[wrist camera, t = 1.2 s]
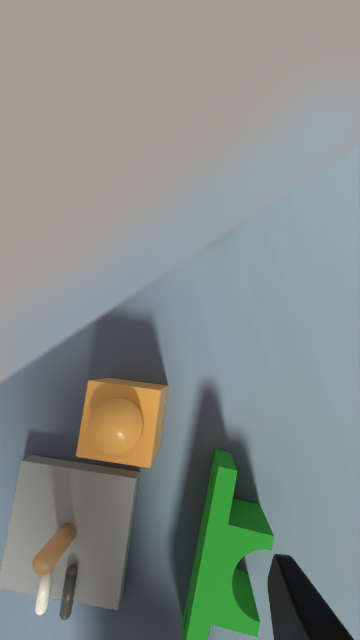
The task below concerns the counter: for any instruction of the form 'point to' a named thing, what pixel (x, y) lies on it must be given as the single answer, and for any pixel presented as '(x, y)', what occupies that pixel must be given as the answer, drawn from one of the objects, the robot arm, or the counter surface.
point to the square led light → (122, 421)
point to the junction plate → (69, 533)
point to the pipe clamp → (224, 557)
